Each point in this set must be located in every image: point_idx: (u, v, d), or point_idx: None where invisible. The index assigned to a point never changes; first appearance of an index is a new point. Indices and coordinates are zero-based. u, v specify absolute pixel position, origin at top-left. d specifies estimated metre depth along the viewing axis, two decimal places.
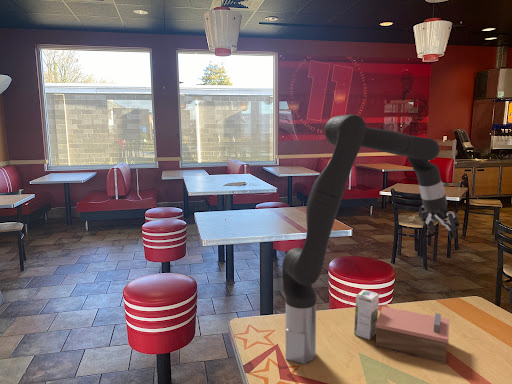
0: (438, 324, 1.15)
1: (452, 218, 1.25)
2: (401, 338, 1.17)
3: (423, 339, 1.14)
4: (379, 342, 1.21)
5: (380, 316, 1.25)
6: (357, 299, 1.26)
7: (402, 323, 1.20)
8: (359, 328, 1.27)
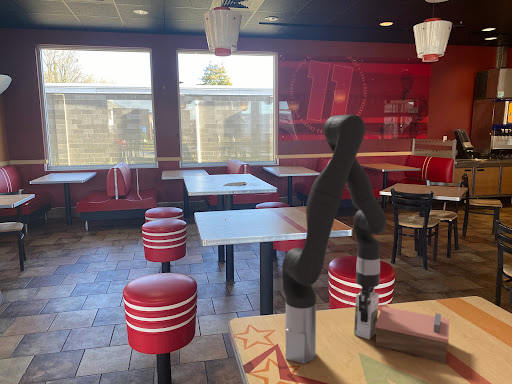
0: (438, 324, 1.15)
1: (360, 300, 1.22)
2: (401, 338, 1.17)
3: (423, 339, 1.14)
4: (379, 342, 1.21)
5: (380, 316, 1.25)
6: (357, 299, 1.26)
7: (402, 323, 1.20)
8: (359, 328, 1.27)
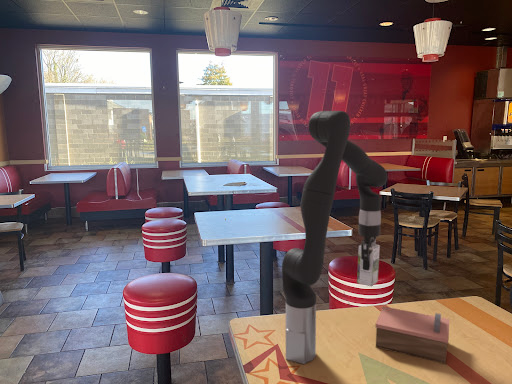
0: (438, 324, 1.15)
1: (362, 248, 1.32)
2: (401, 338, 1.17)
3: (423, 339, 1.14)
4: (379, 342, 1.21)
5: (380, 316, 1.25)
6: (360, 249, 1.37)
7: (402, 323, 1.20)
8: (361, 277, 1.38)
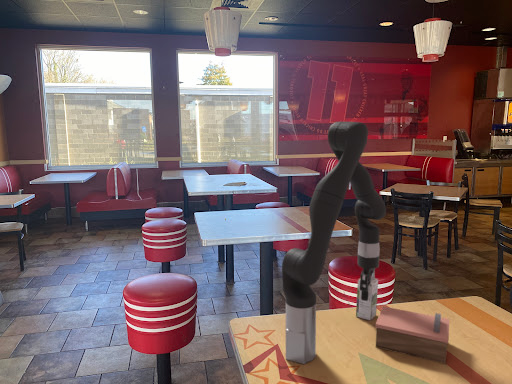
0: (438, 324, 1.15)
1: (361, 279, 1.34)
2: (401, 338, 1.17)
3: (423, 339, 1.14)
4: (379, 342, 1.21)
5: (380, 316, 1.25)
6: (359, 284, 1.39)
7: (402, 323, 1.20)
8: (360, 311, 1.40)
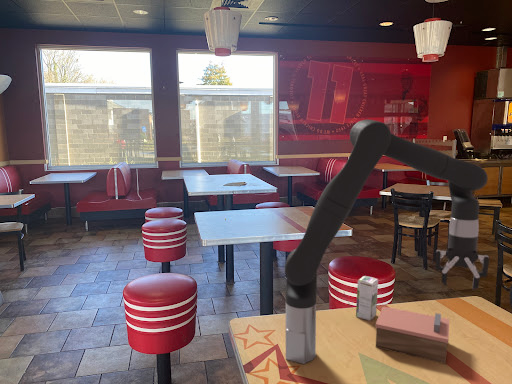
0: (438, 324, 1.15)
1: None
2: (401, 338, 1.17)
3: (423, 339, 1.14)
4: (379, 342, 1.21)
5: (380, 316, 1.25)
6: (359, 284, 1.39)
7: (402, 323, 1.20)
8: (360, 311, 1.40)
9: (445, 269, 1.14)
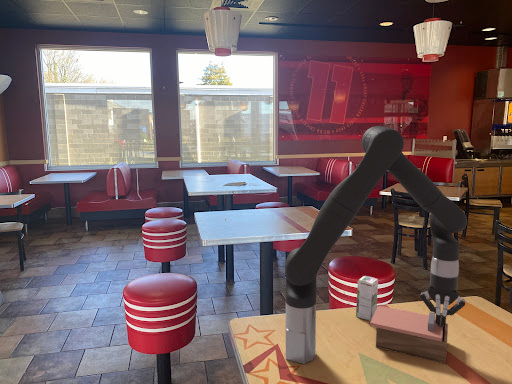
0: (432, 323, 1.15)
1: None
2: (401, 338, 1.17)
3: (423, 339, 1.14)
4: (379, 342, 1.21)
5: (375, 315, 1.26)
6: (359, 284, 1.39)
7: (397, 322, 1.21)
8: (360, 311, 1.40)
9: (437, 310, 1.16)
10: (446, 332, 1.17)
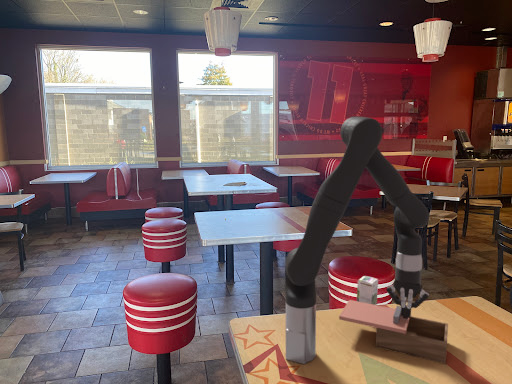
0: (397, 316, 1.20)
1: (425, 299, 1.18)
2: (401, 338, 1.17)
3: (423, 339, 1.14)
4: (379, 342, 1.21)
5: (345, 309, 1.30)
6: (358, 284, 1.39)
7: (365, 316, 1.25)
8: None
9: (402, 303, 1.21)
10: (446, 332, 1.17)
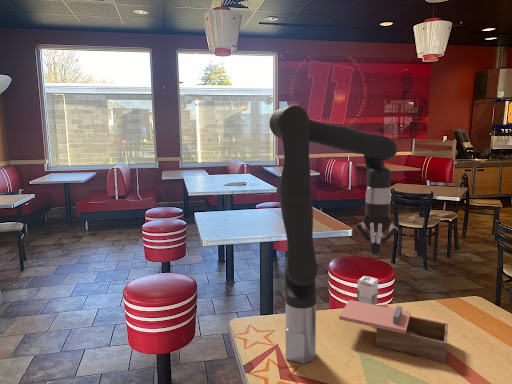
0: (397, 316, 1.20)
1: None
2: (401, 338, 1.17)
3: (423, 339, 1.14)
4: (379, 342, 1.21)
5: (345, 309, 1.30)
6: (359, 284, 1.39)
7: (365, 316, 1.25)
8: None
9: (372, 239, 1.21)
10: (446, 332, 1.17)
